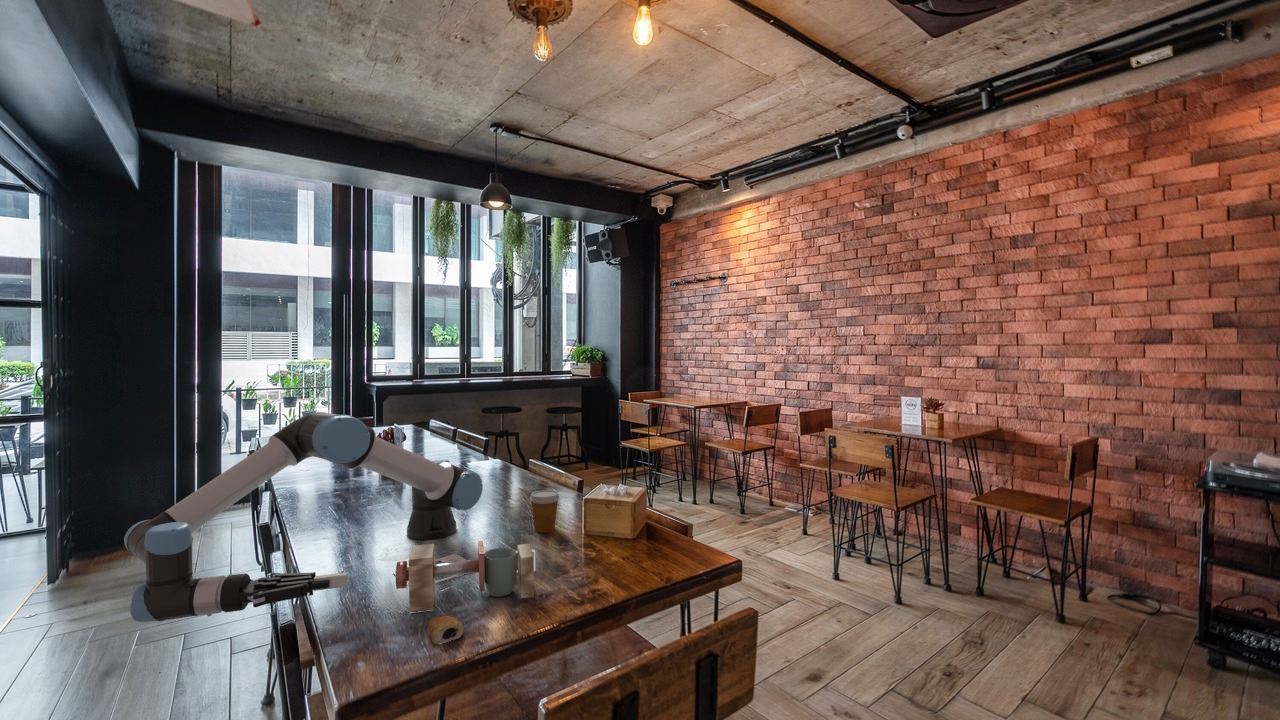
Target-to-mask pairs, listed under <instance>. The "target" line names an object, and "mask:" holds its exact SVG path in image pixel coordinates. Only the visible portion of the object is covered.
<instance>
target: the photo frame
mask: <svg viewBox="0 0 1280 720" xmlns="http://www.w3.org/2000/svg"><path fill="white" fill-rule="evenodd" d="M468 560H469V559H468ZM468 560H467V559H466V558H464V557H462V556H460V555H458V554H457V553H453V554H451V555H446V556H443V557H440V558H436V559H435V558H434V562H435V561H438V562H439V561H441V562H442V563H450V562H459V561H468ZM441 562H440V563H441ZM435 563H436V562H435ZM442 563H441V564H442ZM392 572H393V573H395V574H396V570H394V571H392ZM461 575H463V576H465V575H464V574H461ZM461 575H453V576H446V577H444V578H441V579H438V580H435V583H438V582H441V581H444V582H446V581H445V580H447V581H449V580H448V579H451V578H454V577H457V578H459V577H458V576H460V577H462V576H461ZM454 579H455V578H454ZM451 580H452V579H451ZM407 583H408V584H409V581H407ZM441 583H442V582H441ZM438 584H439V583H438Z"/></svg>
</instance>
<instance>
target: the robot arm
mask: <svg viewBox="0 0 1280 720" xmlns="http://www.w3.org/2000/svg"><path fill="white" fill-rule="evenodd" d="M313 457H314V458H318V459H321V460H325V461H328V462H330V463H332V464H333V463H334V464H337V465H339V466H341V467H345V468H347V469H349V470H353V469H357V468H359V467H361V468H364V469H366V470H368V471H372V472H374V473H377V474H380V475H382V476H384V477H387V478H389V479H392V480H394V481H397V482H400V483H402V484H405V485H408V486H410V487H411V504H412V509H411V514H410V517H409V521H408V524H407V527H406V536H407V537H408V538H410V539H412V540H418V541H419V540H420V541H425V540H428V541H429V540H436V539H441V538H442V539H443V538H446V537H448V536H450V535H451V536H452V535H453V534H454V533H456V532H457V521H456V519H455V515H454V513H453V510H452V508H453V509H455V510H458V511H460V510H461V511H467V510H470V509H472V508H473V507H474V506H475V505H476V504H477V503H478V502H479V501H480V498H481V496H482V493H483V489H484V487H483V486H484V485H483V480H482V476H480V474H478V473H477V472H474V471H472V470H467V469H464V468H461V467H459V466H457V465H454V464H453V463H450V460H448V459H438V460H437V459H436V460H430V459H428V458H425V457H423V456H421V455H419V454H416V453H414V452H412V451H410V450H407V449H405V448H403V447H401V446H398V445H397V444H394V443H392V442H390V441H387V440H385V439H382V438H381V437H378V436H377V433H376V431H375V429H374V428H372V427H370V426H367V425H366V424H365V423H364V422H363V421H361V420H360V419H358V418H356V417H355V416H353V415H349V414H338V413H337V414H336V413H329V412H322V411H315V412H311V413H308V414H306V415H304V416H301V417H299V418H297V419H296V420H294V421H292V422H291V423H289V424H288V425H286V426H284V427H282V429H280V430H278V431H277V432H276V433H273V434H272V435H271V436H269V438H268V443H266V444H264V445H263V446H261V447H260V448H258V449H257V450H256V451H253V452H252V453H251V454H250V455H248V456H247V457H245V458H243V459H242V460H240V461H239V462H237V463H236V464H234V465H233V466H231V467H230V468H228V469H227V470H225V471H224V472H222V473H221V474H219V475H218V476H216V477H214V478H213V479H211V480H210V481H208V482H207V483H205V484H204V485H203V486H201V487H200V488H198V489H196V490H195V491H194V492H192V493H191V494H188V495H187V496H186V497H184V498H182V500H180V501H178V502H176V503H175V504H174V505H172V506H171V507H170V508H168V509H166V510H164V511H163V512H161V513H159V514H158V515H157V516H155V517H153V518H152V519H146V520H145V519H144V520H141V521H139V522H136V523H135V524H133V525H132V526H130V528H128V530H127V531H126V532H125V535H124V538H123V542H124V546H125V547H126V550H127V552H128V553H129V554H130V555H131V556H134V557H135V558H137V559H139V560H140V561H141V562H142V563H143V564H145V576H146V577H145V578H146V579H145V580H146V582H145V584H142V585H140V586H138V587H137V588H136V589H135V590H134V592H133V593H132V597H131V603H130V604H129V613H130V615H131V618H132V619H133V621H135V622H137V623H146V622H164V621H168V620H169V621H170V620H176V619H177V620H178V619H183V618H189V617H190V618H191V617H198V616H207V617H211V616H213V614H220V613H222V612H224V613H231V612H238V611H239V612H240V611H244V609H246V608H247V607H248V605H249V604H250V603H251V604H252V605H253V606H252V607H253V608H258V607H261V606H264V605H267V604H273V603H278V602H283V601H288V600H294V599H297V598H302V597H303V598H304V597H307V596H309V597H311V596H313V595H314V591H323V590H331V589H340V588H347V586H348V585H349V584H348V572H341V573H340V572H339V573H331V574H323V575H316V571H313V572H293V573H291V572H290V573H281V572H271V573H270V574H269V575H270V577H267V576H265V577H259V578H258V579H253V580H252V579H251V578H250V575H249V574H248V573H245V572H244V573H236V574H229V575H227V576H226V575H223V574H222V575H217V576H209V577H208V576H206V577H201V578H200V577H198V578H194V576H193V570H194V569H193V539H194V537H193V536H192V533H193V532H195V531H197V530H198V529H200V528H201V527H203V526H204V525H205V524H207V523H208V522H209V521H211V520H212V519H214V518H215V517H216V516H218V515H219V514H221V513H223V512H224V511H225V510H227V509H228V508H229V507H231V506H233V505H234V504H235V503H237V502H238V501H240V500H241V499H242V498H244V497H245V496H247V495H248V494H250V493H251V492H252V491H254V490H255V489H257V488H258V487H260V486H261V485H262V484H264V483H265V482H267V481H268V480H270V479H271V478H273V477H274V476H275V475H277V474H278V473H280V472H281V471H282V470H285V468H287V467H288V466H290V467H291V466H297V465H298V464H299V463H300V462H302V461H304V460H306V459H309V458H313Z"/></svg>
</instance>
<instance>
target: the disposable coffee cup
mask: <svg viewBox="0 0 1280 720" xmlns="http://www.w3.org/2000/svg"><path fill="white" fill-rule="evenodd" d="M559 499H560V495H559V493H558V491H556V490H552V489H543V490H537V491H533V492H532V493H531V495H530V497H529V500H530V502H531V508H532V515H533V523H534V530H535V532H537V533H540V534H541V533H543V534H545V533H546V534H547V533H551V532H554V531H555V529H556V520H557V519H556V518H557V510H558V501H559Z"/></svg>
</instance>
